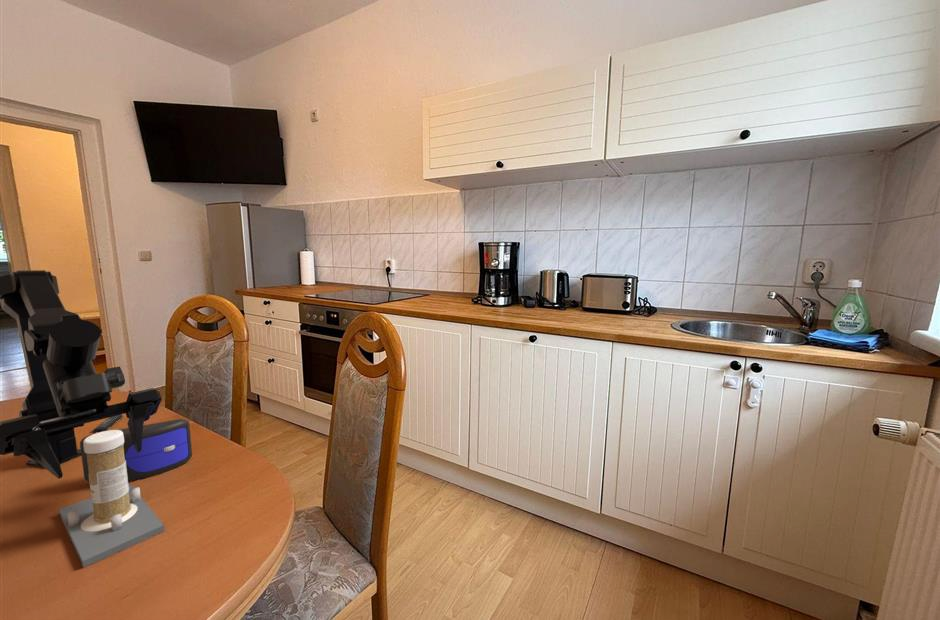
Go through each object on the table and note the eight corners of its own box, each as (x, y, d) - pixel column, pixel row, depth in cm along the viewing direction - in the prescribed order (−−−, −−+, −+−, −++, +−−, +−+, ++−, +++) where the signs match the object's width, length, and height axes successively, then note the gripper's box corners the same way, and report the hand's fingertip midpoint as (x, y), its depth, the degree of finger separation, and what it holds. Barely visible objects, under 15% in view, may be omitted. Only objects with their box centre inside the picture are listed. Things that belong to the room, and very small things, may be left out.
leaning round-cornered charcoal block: (79, 494, 68) (73, 444, 67) (86, 482, 72) (80, 434, 71) (191, 468, 77) (187, 423, 76) (192, 458, 81) (189, 415, 80)
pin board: (59, 514, 63) (57, 497, 62) (131, 489, 70) (129, 473, 70) (83, 567, 52) (80, 547, 52) (164, 530, 60) (162, 513, 59)
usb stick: (111, 419, 100) (111, 414, 100) (124, 418, 101) (123, 412, 101) (91, 435, 92) (91, 428, 92) (105, 433, 93) (105, 427, 92)
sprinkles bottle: (94, 513, 62) (84, 434, 60) (132, 501, 65) (123, 426, 63) (92, 528, 58) (81, 445, 57) (132, 515, 61) (122, 436, 60)
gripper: (-14, 367, 53) (12, 467, 49) (152, 343, 69) (184, 417, 64) (-14, 409, 59) (10, 502, 54) (140, 378, 74) (169, 448, 70)
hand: (102, 463), depth 60 cm, fingers open, 9 cm apart
